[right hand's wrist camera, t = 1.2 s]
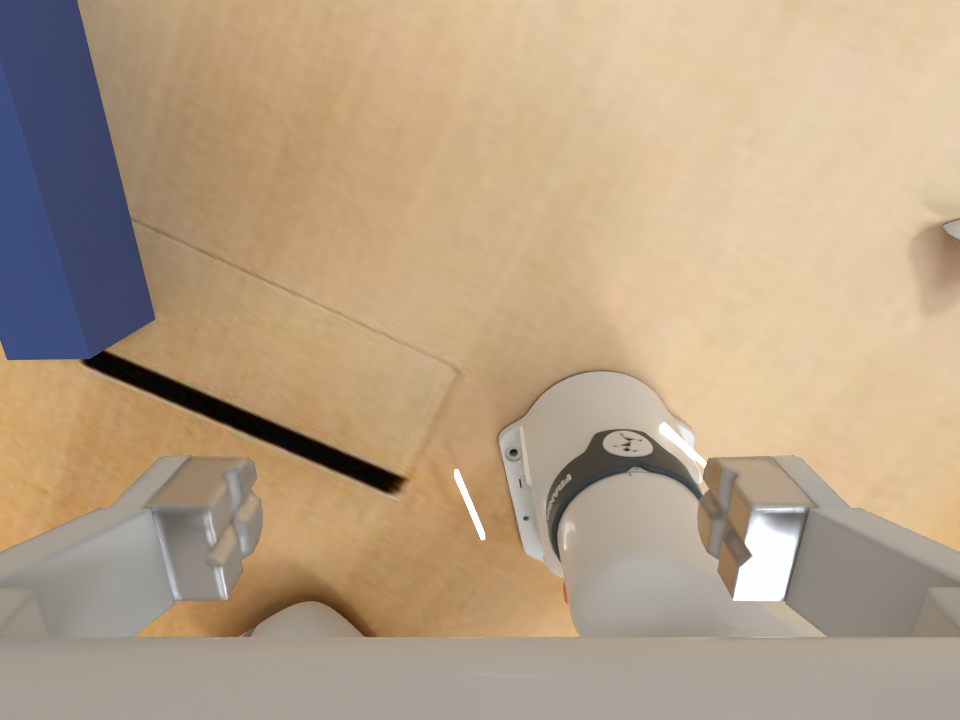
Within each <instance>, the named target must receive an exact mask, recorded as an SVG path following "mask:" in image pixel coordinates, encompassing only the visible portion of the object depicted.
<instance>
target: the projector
mask: <svg viewBox="0 0 960 720" xmlns="http://www.w3.org/2000/svg"><path fill="white" fill-rule="evenodd" d="M239 637H364V636H363V635H362V634H361V633H360V632H359V631H358V630H357V629H356V628H355V627H354V626H353V625H352V624H351V623H350V622H349V621H347V620H346V619H345V618H344V617H343V616H341V615H340V614H339V613H338V612H336V611H335V610H333V609H332V608H331V607H329V606H327V605H325V604H323V603H320V602H315V601H306V602H301V603H298V604H295V605H292V606H289V607H287V608H285V609H283V610H281V611H279V612H278V613H276V614H274V615H272V616H271V617H269V618H267V619H266V620H264V621H263V622H261V623H260V624H259V625H258V626H257V627H254V628H252V629H250V630H248V631H247V632H245V633H243V634H242V635H240V636H239Z"/></svg>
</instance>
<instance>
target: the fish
mask: <svg viewBox="0 0 960 720" xmlns="http://www.w3.org/2000/svg"><path fill="white" fill-rule="evenodd" d="M942 228H943V229H944V230H945V232H946V233H947V234H949V235H951V236H952V237H954V238H956V239H958V240H960V219H958V220H955V221H952V222H949V223H946V224H944V225H943V226H942Z"/></svg>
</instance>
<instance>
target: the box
mask: <svg viewBox="0 0 960 720" xmlns="http://www.w3.org/2000/svg"><path fill="white" fill-rule="evenodd" d="M153 320H155V317H154V313H153V308H152V304H151V300H150V296H149V292H148V288H147V284H146V280H145V276H144V272H143V268H142V264H141V260H140V256H139V252H138V247H137V243H136V239H135V235H134V231H133V227H132V223H131V219H130V215H129V211H128V207H127V203H126V199H125V195H124V191H123V186H122V182H121V178H120V174H119V170H118V166H117V162H116V158H115V154H114V150H113V146H112V142H111V138H110V134H109V130H108V125H107V121H106V117H105V113H104V109H103V105H102V101H101V97H100V93H99V89H98V85H97V81H96V77H95V73H94V69H93V64H92V60H91V56H90V52H89V48H88V44H87V40H86V36H85V32H84V28H83V24H82V20H81V16H80V12H79V8H78V3H77V0H0V341H1V344H2V346H3V349H4V352H5V355H6V357H7V360H40V359H90V358H92V357H93V356H95V355H97V354H98V353H100V352H102V351H103V350H105V349H107V348H108V347H110V346H112V345H113V344H115V343H117V342H118V341H120V340H122V339H123V338H125V337H126V336H128V335H130V334H131V333H133V332H135V331H136V330H138V329H140V328H141V327H143V326H145V325H146V324H148V323H150V322H151V321H153Z"/></svg>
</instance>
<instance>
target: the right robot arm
mask: <svg viewBox="0 0 960 720" xmlns="http://www.w3.org/2000/svg"><path fill="white" fill-rule="evenodd" d="M498 440H499V445H500V450H501V454H502V459H503V463H504V467H505V472H506V476H507V480H508V485H509V489H510V493H511V498H512V502H513V507H514V511H515V515H516V520H517V524H518V528H519V533H520V537H521V541H522V545H523V549H524V552H525V553H526V554H527V555H528V556H530V557H532V558H534V559H536V560H539V561H542V562H545V563H546V568H547V569H548V570H549V571H550V572H551V573H553V574H554V575H556V576H558V577H561V578H564V585H563V589H564V598H565V602H566V604H569V609H570V614H571V618H572V622H573V624H574V627H575V629H576V631H577V633H578V634H579V636H580V637H133V636H135V635H136V634H137V633H138V632H140V631H141V630H142V629H144V628H145V627H146V626H147V625H149V624H150V623H151V622H152V621H154V620H155V619H156V618H158V617H159V616H160V615H161V614H163V613H164V612H165V611H167V610H168V609H169V608H170V607H172V606H173V605H174V604H175V603H174V602H178V601H213V600H227V599H228V597H229V595H230V594H231V592H232V590H233V588H234V586H235V584H236V583H237V581H238V579H239V577H240V575H241V574H242V572H243V569H242V563H241V560H242V559H244V558H245V557H247V556H248V555H250V554H251V553H253V551H254V549H255V547H256V546H257V544H258V542H259V538H260V534H261V529H262V525H263V510H262V504H261V499H260V498H259V497H258V496H257V495H256V494H255V493H254V492H253V491H252V490H251V488H252V486H253V484H254V483H255V481H256V480H257V475H256V470H255V465H254V462H253V461H252V460H251V459H250V458H249V457H221V456H164V457H160V458H159V459H158V460H157V461H156V462H155V463H154V464H153V465H152V466H151V467H150V468H149V469H148V470H147V471H146V472H145V473H144V474H143V475H142V476H141V477H140V478H138V479H137V480H136V481H135V482H134V483H133V484H132V485H131V486H130V487H129V488H128V489H127V490H126V491H125V492H124V493H123V494H122V495H121V496H120V497H119V498H118V499H117V500H116V501H115V502H114V503H113V504H112V505H111V506H110V507H109V508H99V509H97V510H94V511H92V512H90V513H87V514H85V515H83V516H81V517H78V518H76V519H74V520H72V521H69V522H67V523H65V524H63V525H60V526H58V527H56V528H53V529H51V530H49V531H47V532H44V533H42V534H40V535H38V536H35V537H33V538H31V539H29V540H26V541H24V542H22V543H19V544H17V545H15V546H13V547H10V548H8V549H6V550H4V551H1V552H0V720H960V552H958V551H956V550H954V549H952V548H949V547H947V546H945V545H943V544H940V543H938V542H936V541H934V540H931V539H929V538H927V537H924V536H922V535H920V534H918V533H915V532H913V531H911V530H909V529H906V528H904V527H902V526H900V525H897V524H895V523H893V522H891V521H888V520H886V519H884V518H882V517H879V516H877V515H875V514H873V513H870V512H868V511H866V510H863V509H861V508H851V507H850V506H849V505H848V504H847V503H846V502H845V501H844V500H843V499H842V498H841V497H840V496H839V495H838V494H837V493H836V492H835V491H834V490H833V489H832V488H831V487H830V486H829V485H828V484H827V483H826V482H825V481H824V480H823V479H822V478H821V477H820V476H819V475H818V474H817V473H816V472H815V471H814V470H813V469H812V468H811V467H810V466H809V465H808V464H807V463H806V462H805V461H804V460H803V459H802V458H800V457H797V456H794V455H789V456H761V457H721V458H709V459H708V461H707V463H706V462H705V461H704V460H703V459H702V458H701V457H700V456H699V455H698V454H696V453H695V452H694V451H693V450H692V449H693V446H694V444H695V436H694V434H693V432H692V430H691V428H690V427H689V426H687V425H686V424H685V423H683V422H682V421H680V420H678V419H677V418H675V417H673V416H672V415H671V414H670V413H669V411H668V410H667V408H666V407H665V405H664V404H663V402H662V400H661V399H660V398H659V396H658V395H657V394H656V393H655V392H654V391H653V390H652V389H651V388H650V387H649V386H647V385H646V384H645V383H643V382H641V381H640V380H638V379H636V378H634V377H631V376H629V375H625V374H622V373H617V372H610V371H594V372H587V373H582V374H578V375H575V376H572V377H569V378H567V379H565V380H562V381H561V382H559V383H557V384H555V385H554V386H552V387H551V388H550V389H548V390H547V391H546V392H545V393H544V394H542V395H541V396H540V397H539V399H538V400H537V401H536V402H535V403H534V405H533V406H532V407H531V409H530V410H529V411H528V412H527V414H526V415H525V416H524V417H523V418H521V419H519V420H518V421H516V422H514V423H513V424H511V425H509V426H508V427H506V428H505V429H504V430H503V431H502V432H501V433H500V435H499V439H498ZM511 449H516V450H517V452H515V453H512V452H510V450H511ZM694 458H695V459H696V460H697V461H698V462H699V463H700V464H701V465H702V466H703V467H704V468H705V469H704V474H703V480H704V481H705V483H706V484H707V486H708V488H709V490H708V491H707V492H706V493H705V494H704V495H703V494H702V491H701V489H700V487H699V484H700V483H701V482H702V475H701V472H700V470H699V467H698V465H697V463H696V461H695V459H694ZM454 476H455V478H456V481H457V483H458V485H459V488H460V490H461V493H462V495H463V497H464V500H465V502H466V504H467V507H468V509H469V511H470V514H471V516H472V518H473V521H474V523H475V525H476V528H477V530H478V533H479V535H480V537H481V540H484V539H485V533H484V531H483V528H482V526H481V523H480V521H479V519H478V516H477V514H476V511H475V509H474V507H473V504H472V502H471V500H470V497H469V495H468V492H467V490H466V488H465V485H464V483H463V480H462V478H461V476H460V473H459V471H458V470H455V474H454ZM781 601H782V602H781ZM783 602H786V603H785V604H784V603H783ZM788 606H789V607H788Z"/></svg>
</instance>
